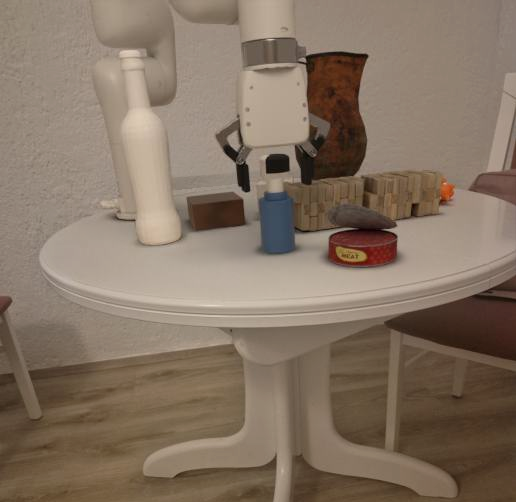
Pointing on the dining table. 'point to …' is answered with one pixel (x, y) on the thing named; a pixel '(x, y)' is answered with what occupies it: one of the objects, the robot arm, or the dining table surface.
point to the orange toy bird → (446, 190)
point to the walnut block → (215, 210)
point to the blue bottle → (276, 218)
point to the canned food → (361, 237)
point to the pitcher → (336, 112)
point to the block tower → (366, 196)
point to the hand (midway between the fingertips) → (276, 187)
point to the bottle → (147, 158)
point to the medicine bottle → (273, 171)
